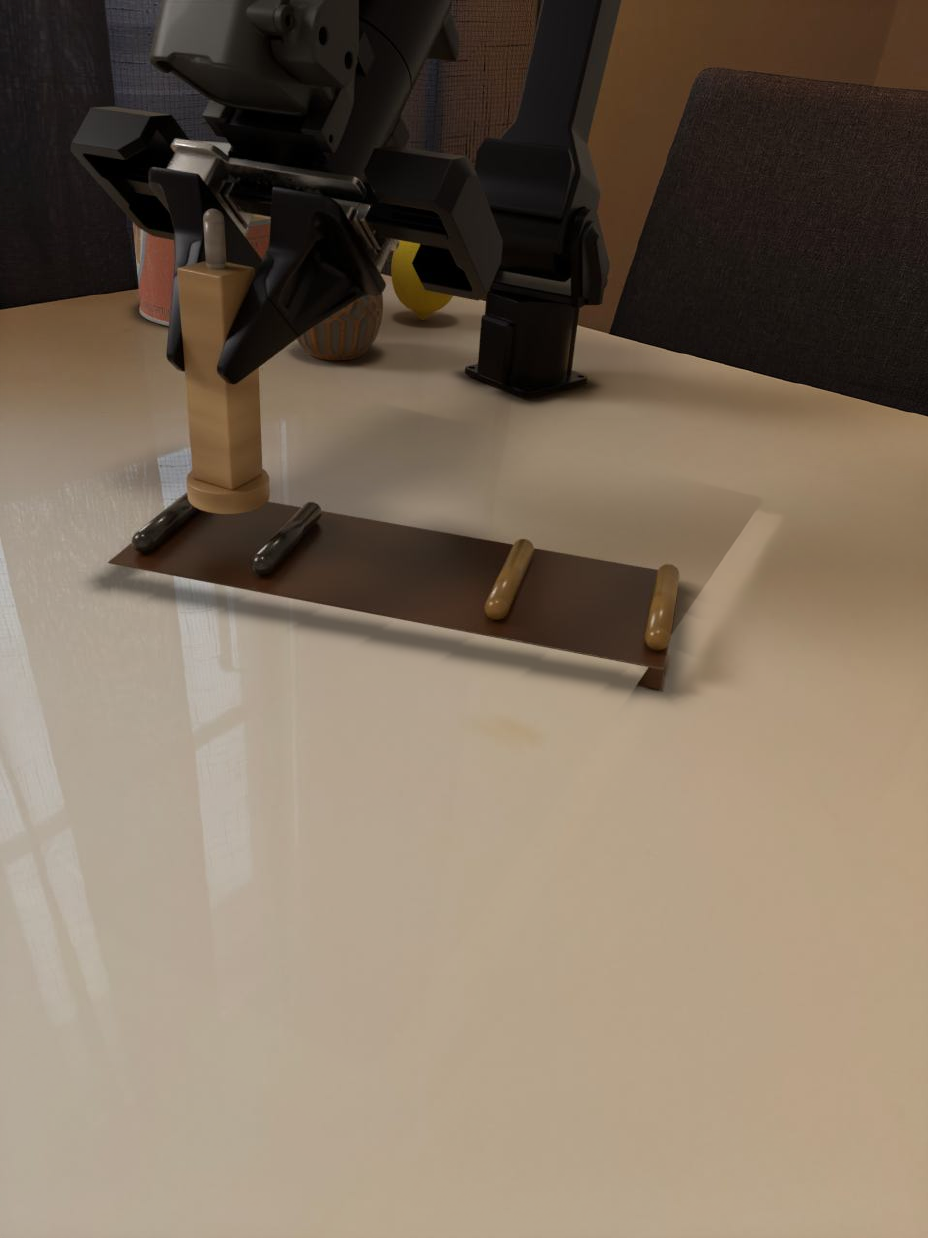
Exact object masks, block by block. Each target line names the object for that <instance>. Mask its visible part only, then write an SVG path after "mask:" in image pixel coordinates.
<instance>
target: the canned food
mask: <svg viewBox="0 0 928 1238" xmlns="http://www.w3.org/2000/svg"><path fill="white" fill-rule="evenodd" d="M196 141H197V142H204V143H209V144H212V145H214V146H216V147H218V148H219V149H221V150H222V151H223V152H224V153H225V154H226V155H228V151H229V149H230V148H231V145H230V143H229V142H221V141H208V140H196ZM248 226H249V228H250V230H249V232H248V234H247V236H246V239H247V240H248V241H249V243H250V244H251V245H252V247H253V248H254V249H255V251H256V252H257V254H258V255H259V256H260V258H261V259H262V260H263V258H264V255H265V253H266V251H267V249H268V245H269V240H270V219H264V218H259V217H253V218H252V220H251V222H250V224H249V225H248ZM132 228H133V229H132V230H133V241H134V252H135V261H136V263H135V264H136V273H137V284H138V294H139V304H140V305H139V314H140V315H141V316H142V317H143V318H144V319H146V320H148V321H150V322H152V323H154V324H158V325H161V326H165V327H169V319H170V309H171V298H172V287H173V279H174V278H173V276H174V263H175V246H174V240H170V239H165V238H160V237H155V236H152V235H150V234H148V233H147V232H145V231H143V230H142V229H140V228H138V227H137V226H136V225H135V224H134V223H133V222H132Z"/></svg>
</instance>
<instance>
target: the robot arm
mask: <svg viewBox="0 0 928 1238" xmlns="http://www.w3.org/2000/svg"><path fill="white" fill-rule="evenodd" d="M621 3H622V0H541V5H540V9H539V14H538V17H537V22H536V27H535V31H534V35H533V40H532V44H531V49H530V53H529V59H528V63H527V66H526V72H525V76H524V79H523V80H524V81H523V85H522V89H521V92H520V93H521V94H520V98H519V99H520V100H519V102H518V107H517V111H516V115H515V119H514V120H513V122H512V123H511V124H510V125H509V126H508V128H507V129H506V130H505V131H504V132H503V133H502V134H501V135H500V137H497V138H496V137H489V136H486V137H485V138H484V139H483V140H482V142H481V143H480V145H479V147H478V148H477V150H476V154H475V162H474V165H473V163H472V161H471V159H470V157H469V156H467V155H466V156H465V155H458V154H452V153H445V152H438V151H430V150H425V149H424V150H423V149H418V148H417V149H416V148H411V147H410V148H409V147H407V145H408V142H409V140H410V138H411V133H410V130H409V129H408V126H407V124H406V122H405V120H404V117H403V114H402V113H403V111H404V109H405V108H406V107H405V106H406V105H407V103H408V100H409V99H410V98H409V97H410V95H411V93H412V92H413V90H414V88H415V85H416V83H417V81H418V78H419V76H420V74H421V72H422V70H423V68H424V66H425V63H426V62H427V60H435V61H444V62H456V61H457V60H458V58H459V56H460V34H459V30H458V27H457V25H456V22H455V18H454V16H453V13H452V6H453V0H160V3H159V5H160V6H159V9H158V14H157V19H156V23H155V28H154V34H153V38H152V44H151V48H150V53H149V57H148V60H149V62H150V64H151V65H152V66H153V67H154V68H155V69H157V70H158V71H160V72H161V73H163V74H169V73H171V74H173V75H174V76H175V77H177V78H178V79H180V80H181V81H182V82H184V83H185V84H187V85H189V86H190V87H191V88H192V89H194V90H195V91H197V92H198V93H200V95H202V96H204V97H205V98H207V99H208V100H209V101H208V103H207V105H206V106H205V109H204V111H203V112H202V114H201V116H202V117H203V118H204V120H205V122H206V123H207V125H208V126H209V128H210V129H211V131H212V132H213V133H214V135H215V136H216V137H218V138H225V140H226V141H227V143H230V145H231V148H230V149H229V151H228V155H226V154H225V153H224V152H223V151H222V150H221V149H219V148H218V147H216V146H214V145H212V144H209V143H204V142H197V141H198V140H191V139H190V138H189V136H188V135H187V134H186V133H185V131H184V130H183V128H182V127H181V125H180V124H179V123H178V121H177V120H176V118H175V117H174V116H173V114H169V113H161V112H154V111H148V110H140V109H134V108H126V107H118V106H98V107H97V106H95V107H90V108H89V110H88V112H87V113H86V115H85V117H84V119H83V121H82V122H81V125H80V127H79V128H78V131H77V132H76V134H75V136H74V138H73V140H72V142H71V145H70V150H69V151H70V152H71V153H72V154H73V156H74V157H75V158H76V159H77V160H78V161H79V162H80V164H81V165H82V166H83V167H84V169H86V170H87V172H88V173H89V174H90V176H92V177H93V179H95V181H96V182H97V183H98V184H99V185H100V186H101V188H102V189H103V190H104V191H105V192H106V193H107V194H108V195H109V196H110V198H111V199H112V200H113V201H114V203H116V204H117V206H118V207H119V208H120V209H121V210H122V211H123V212H124V214H125V215H126V216H127V217H128V218H129V219H130V220H131V222H132V224H133V223H134V224H135V225H136V226H137V227H138V228H140V229H142V230H143V231H145V232H147V233H148V234H150V235H152V236H155V237H160V238H165V239H170V240H174V246H175V263H174V276H173V278H174V279H173V287H172V298H171V309H170V319H169V326H168V332H167V340H166V341H167V342H166V352H165V355H166V356H165V357H166V360H167V361H168V363H170V365H172V366H173V367H174V368H175V370H177V371H179V372H183V373H185V367H184V354H183V340H182V327H181V314H180V300H179V287H178V274H177V269H178V268H179V267H183V266H187V265H192V264H196V263H200V262H204V261H206V257H205V241H204V224H203V216H204V213H205V212H206V211H207V210H209V209H217V210H219V211H220V212H221V213H222V214H223V216H224V224H225V243H226V262H228V263H233V264H238V265H243V266H248V267H253V268H255V277H254V279H253V281H252V283H251V286H250V288H249V290H248V292H247V294H246V296H245V298H244V301H243V303H242V305H241V307H240V309H239V311H238V314H237V316H236V318H235V320H234V322H233V324H232V326H231V329H230V331H229V333H228V335H227V338H226V341H225V344H224V347H223V350H222V353H221V356H220V359H219V361H218V364H217V373H218V374H219V375H220V376H221V377H222V379H223V380H224V381H225V382H227V383H229V384H237V383H239V382H240V381H241V380H243V379H244V378H245V377H247V376H248V375H249V374H251V373H252V372H253V371H255V370H256V369H257V368H259V369H260V367H261V366H263V365H264V364H265V363H267V362H268V361H269V360H271V359H272V358H273V357H275V356H276V355H277V354H279V353H280V352H281V351H283V350H284V349H285V348H287V347H288V346H289V345H291V344H292V343H294V342H295V341H297V340H296V339H297V338H298V337H300V336H302V335H303V334H304V333H306V332H307V331H308V330H310V329H311V328H313V327H314V326H316V325H317V324H319V323H320V322H322V321H324V320H325V319H327V318H329V317H330V316H332V315H333V314H335V313H337V312H338V311H340V310H341V309H343V308H345V307H346V306H348V305H349V304H351V303H353V302H354V301H356V300H358V299H359V298H361V297H363V296H366V295H370V296H375V297H376V296H380V295H381V294H382V295H383V292H384V291H385V289H386V287H387V283H386V280H385V279H384V277H383V276H382V274H381V273H382V270H383V269H384V266H385V264H386V261H387V260H388V258H389V255H390V253H391V252H394V251H396V250H397V248H398V246H399V244H400V243H399V241H398V240H401V241H407V242H412V243H418V244H420V246H419V249H418V251H417V253H416V255H415V257H414V260H413V262H412V265H413V267H414V269H415V271H416V273H417V275H418V277H419V279H420V281H421V283H422V285H423V287H424V289H425V290H427V291H432V292H437V293H442V294H447V295H452V296H453V297H458V298H462V299H468V300H472V301H480V300H482V299H483V298H485V306H484V314H483V315H482V316H481V320H480V333H479V344H478V357H477V363H473V364H470V365H469V364H468V365H466V366H465V367H464V374H465V375H467V376H470V377H472V378H474V379H476V380H479V381H482V382H484V383H487V384H489V385H492V386H494V387H496V388H499V389H501V390H504V391H507V392H509V393H512V394H514V395H516V396H519V397H521V398H526V399H527V398H534V397H539V396H542V395H547V394H551V393H554V392H559V391H563V390H566V389H571V388H575V387H579V386H582V385H586V384H587V383H588V376H587V375H586V374H583V373H581V372H577V371H574V370H573V362H574V356H575V355H574V354H575V348H576V340H577V332H578V325H579V316H580V309H581V308H583V307H585V306H600V305H602V304H603V301H604V300H603V299H604V293H605V288H606V287H607V286H608V281H609V278H608V277H609V272H610V268H611V263H610V258H609V256H608V251H607V247H606V243H605V238H604V234H603V230H602V226H601V222H600V218H599V214H598V209H599V204H600V199H601V187H600V184H599V181H598V177H597V174H596V171H595V166H594V164H593V160H592V156H591V153H590V149H589V146H588V145H589V144H588V143H589V138H590V133H591V130H592V126H593V121H594V117H595V114H596V113H595V112H596V109H597V104H598V101H599V96H600V92H601V87H602V83H603V79H604V75H605V71H606V67H607V62H608V58H609V54H610V50H611V45H612V42H613V38H614V33H615V29H616V24H617V22H618V21H617V20H618V16H619V14H620V13H619V12H620V9H621V5H622V4H621ZM253 217H259V218H264V219H270V240H269V245H268V249H267V251H266V253H265V255H264V258H263V260H262V259H261V258H260V256H259V255H258V254H257V252H256V251H255V249H254V248H253V247H252V245H251V244H250V243H249V241H248V240H247V239H246V236H247V234H248V232H249V230H250V228H249V226H248V225H249V224H250V222H251V220H252V218H253Z"/></svg>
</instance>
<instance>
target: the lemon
mask: <svg viewBox="0 0 928 1238" xmlns="http://www.w3.org/2000/svg"><path fill="white" fill-rule="evenodd" d="M398 241H399V243H400V244H399V246H398V248H397V250H396V251H393V253H392V257H391V264H390V265H391V266H390V267H391V268H390V274H391V275H390V276H391V282H392V286H393V290H394V291H393V292H394V293H395V295H396V297H397V299H398V300H399V302H400V303H401V304H402V305H403V306H404V307H405V308H407V309H408V310H410V311H412V312H413V313H414V314H415V315H416V317H417V318H418V319H419V320H423V321H424V320H428V318H429V317H430V316H431V315H432V314H433V313H436V312H437V311H440V310H442V309H443V308H445V307H446V306H447V305H448V304H449V303H450V302H451V300H452V299H453V298H454V296H452V295H447V294H442V293H437V292H432V291H427V290H425V289H424V287H423V285H422V283H421V281H420V279H419V277H418V275H417V273H416V271H415V269H414V267H413V265H412V262H413V260H414V257H415V255H416V253H417V251H418V249H419V246H420V244H418V243H412V242H407V241H401V240H398Z"/></svg>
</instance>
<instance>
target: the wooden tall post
mask: <svg viewBox="0 0 928 1238" xmlns="http://www.w3.org/2000/svg"><path fill="white" fill-rule="evenodd" d="M203 224H204V241H205V257H206V261H204V262H200V263H196V264H192V265H187V266H183V267H179V268H178V269H177V274H178V287H179V300H180V314H181V327H182V340H183V354H184V367H185V372H184V377H185V379H184V380H185V391H186V405H187V406H186V407H187V418H188V431H189V444H190V460H191V471H189V472H188V474H187V476H186V478H185V479H186V480H185V481H186V492H187V494H188V500H189V502H190V504H191V505H193V506H194V507H195V508H197V509H200V510H202V511H206V512H210V513H216V514H238V513H245V512H249V511H253V510H256V509H258V508H260V507H262V506H264V505H265V504H266V503H267V502H269V500H270V499H271V486H270V484H271V483H270V482H271V481H270V475H269V473H268V472H267V471H266V470H265V468H264V469H263V449H262V448H263V447H262V446H263V445H262V443H263V442H262V420H261V419H262V418H261V391H260V367H259V368H257V369H256V370H255V371H253V372H252V373H251V374H249V375H248V376H247V377H245V378H244V379H243V380H241V381H240V382H239V383H237V384H229V383H227V382H225V381H224V380H223V379H222V377H221V376H220V375H219V374H218V373H217V364H218V361H219V359H220V356H221V353H222V350H223V347H224V344H225V341H226V338H227V335H228V333H229V331H230V329H231V326H232V324H233V322H234V320H235V318H236V316H237V314H238V311H239V309H240V307H241V305H242V303H243V301H244V298H245V296H246V294H247V292H248V290H249V288H250V286H251V283H252V281H253V279H254V277H255V268H253V267H248V266H243V265H238V264H233V263H228V262H226V243H225V224H224V216H223V214H222V213H221V212H220V211H219V210H217V209H209V210H207V211H206V212H205V213H204V216H203Z"/></svg>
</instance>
